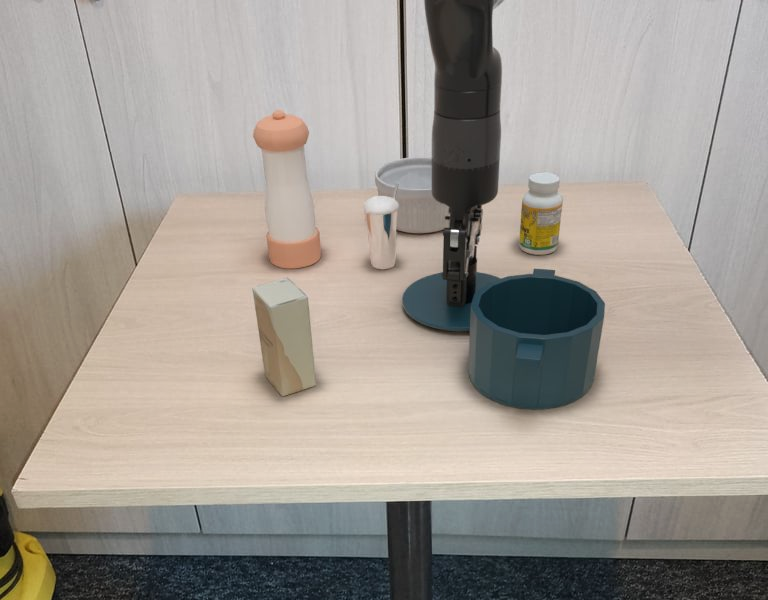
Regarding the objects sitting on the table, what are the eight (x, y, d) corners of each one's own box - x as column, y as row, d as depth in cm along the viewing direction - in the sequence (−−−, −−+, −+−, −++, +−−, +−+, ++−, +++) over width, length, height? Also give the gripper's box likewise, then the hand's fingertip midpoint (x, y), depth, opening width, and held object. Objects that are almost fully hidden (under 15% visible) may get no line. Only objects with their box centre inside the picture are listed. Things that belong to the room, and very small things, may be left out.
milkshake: (411, 261, 111) (409, 188, 104) (383, 275, 108) (380, 201, 102) (387, 251, 113) (385, 179, 107) (360, 265, 111) (355, 191, 104)
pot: (596, 335, 95) (607, 267, 89) (589, 431, 82) (601, 358, 76) (481, 325, 98) (484, 259, 92) (456, 417, 84) (458, 346, 78)
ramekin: (460, 200, 126) (461, 153, 121) (469, 236, 116) (471, 187, 112) (375, 204, 126) (373, 158, 121) (377, 240, 116) (375, 191, 112)
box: (264, 375, 91) (249, 285, 84) (298, 364, 93) (287, 274, 85) (283, 398, 88) (269, 306, 80) (318, 386, 89) (308, 294, 82)
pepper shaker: (262, 252, 115) (241, 107, 102) (310, 241, 117) (296, 98, 104) (279, 273, 110) (259, 123, 97) (328, 261, 112) (316, 113, 99)
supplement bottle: (561, 254, 111) (570, 183, 104) (523, 257, 111) (529, 186, 104) (552, 237, 115) (559, 168, 108) (514, 240, 115) (520, 171, 108)
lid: (524, 282, 105) (528, 237, 101) (512, 340, 95) (516, 293, 91) (415, 274, 108) (414, 230, 104) (391, 330, 98) (389, 283, 94)
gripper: (491, 179, 83) (483, 320, 94) (507, 132, 93) (499, 265, 104) (419, 175, 85) (420, 315, 96) (443, 130, 95) (441, 261, 106)
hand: (461, 289), depth 100 cm, fingers open, 8 cm apart
